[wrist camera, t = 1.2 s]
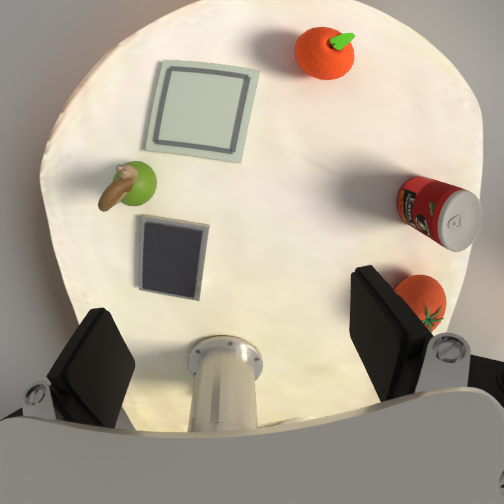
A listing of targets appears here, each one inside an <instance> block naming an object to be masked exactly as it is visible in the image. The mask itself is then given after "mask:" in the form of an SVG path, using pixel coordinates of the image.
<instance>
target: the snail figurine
mask: <svg viewBox="0 0 504 504" xmlns="http://www.w3.org/2000/svg"><path fill="white" fill-rule="evenodd" d="M117 170H118V171H117V172H116V174H115V177H114V180H113V182H112V183H111V184H110V185H109V186H108V187H107V189H106V190H105V191H104V193H103V194H102V196H101V198H100V200H99V203H98V207H99V209H100V210H101V211H103V212H105V211H108V210H109V209H110V208H111V207H112V206H114V205H116V204H117V203H119V202H120V201H121V202H122V203H124V204H126V205H128V206H139V205H142V204H144V203H146V202H147V201H148V200H149V199H150V198H151V197H152V196H153V194H154V192H155V189H156V184H157V181H156V176H155V173H154V171H153V170H152V168H151V167H150V166H148V165H147V164H145V163H143V162H139V161H133V162H129V163H126V164H124V165H123V166H121V165H118V166H117Z"/></svg>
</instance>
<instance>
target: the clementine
mask: <svg viewBox="0 0 504 504" xmlns="http://www.w3.org/2000/svg"><path fill="white" fill-rule="evenodd" d="M354 37H355V35H354V34H353V33H345V34H342V33H340V32H339V31H337V30H335V29H332V28H327V27H317V28H312V29H310V30H307V31H306V32H305V33H303V34H302V35H301V36H300V37H299V39H298V40H297V42H296V47H295V57H296V60H297V62H298V64H299V65H300V67H301V68H302V69H303V70H304V71H305V72H306V73H307V74H309V75H311V76H313V77H315V78H318V79H321V80H332V79H337V78H340V77H342V76H344V75H345V74H346V73H347V72H348V71H349V70H350V69H351V67H352V65H353V62H354V50H353V47H352V45H351V43H350V41H351V40H352V39H353V38H354Z"/></svg>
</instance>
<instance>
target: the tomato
mask: <svg viewBox="0 0 504 504" xmlns="http://www.w3.org/2000/svg"><path fill="white" fill-rule="evenodd" d="M394 291H395V292H396V293H397V294H398V295H400V296H401V297H402V298H403V300H404V301H405V302H406V303H407V304H408V305H409V307H410V308H411V309H412V310H413V311H414V313H415V314H416V315H417V316H418V317H419V319H420V320H421V321H422V322H423V323H424V325H425V326H426V327H427V328H428V330H429V331H430V332H432V331H433V330H434V329H435V328H436V327H437V326H438V325H439V323H440V322H441V320H442V319H444V318H443V316H444V314H445V309H446V296H445V293H444V290H443V288H442V286H441V285H440V284H439V283H438V282H437V281H436V280H435V279H433V278H432V277H430V276H426V275H414V276H410V277H408V278H406V279H404V280H403V281H402V282H400V283H399V284H398V285H397V287H396V288H395V289H394Z"/></svg>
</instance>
